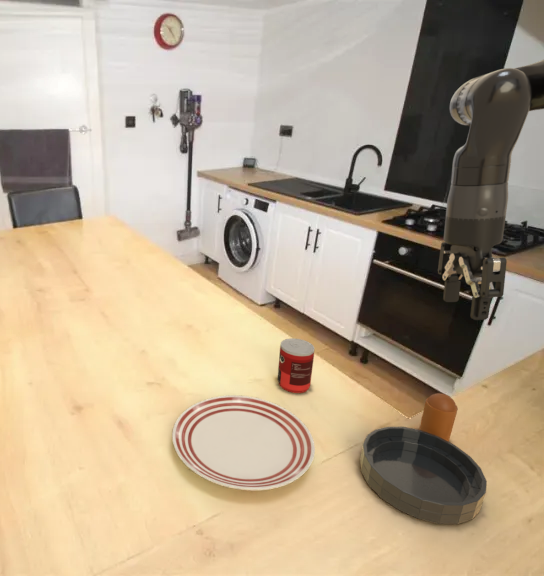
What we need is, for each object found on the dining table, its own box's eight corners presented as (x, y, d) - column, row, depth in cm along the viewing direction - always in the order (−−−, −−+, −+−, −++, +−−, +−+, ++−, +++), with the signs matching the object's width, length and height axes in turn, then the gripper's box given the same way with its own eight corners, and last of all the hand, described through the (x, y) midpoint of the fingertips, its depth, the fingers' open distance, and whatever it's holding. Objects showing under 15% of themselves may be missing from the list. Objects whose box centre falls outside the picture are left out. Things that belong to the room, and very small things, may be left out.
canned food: (286, 372, 107) (290, 335, 103) (315, 384, 102) (320, 345, 98) (270, 384, 102) (274, 345, 98) (300, 398, 97) (305, 357, 93)
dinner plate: (153, 422, 90) (152, 410, 88) (259, 393, 99) (260, 381, 97) (212, 526, 66) (212, 510, 64) (345, 475, 74) (348, 461, 73)
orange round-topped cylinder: (438, 430, 85) (449, 387, 81) (454, 448, 80) (466, 403, 77) (412, 430, 85) (422, 387, 82) (426, 447, 80) (437, 403, 77)
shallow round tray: (438, 445, 81) (443, 426, 79) (507, 528, 64) (515, 506, 62) (344, 444, 82) (347, 425, 80) (387, 525, 65) (392, 503, 63)
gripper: (535, 217, 57) (517, 325, 61) (475, 205, 70) (465, 295, 75) (474, 221, 58) (462, 327, 63) (427, 209, 71) (420, 297, 76)
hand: (463, 309), depth 69 cm, fingers open, 8 cm apart
